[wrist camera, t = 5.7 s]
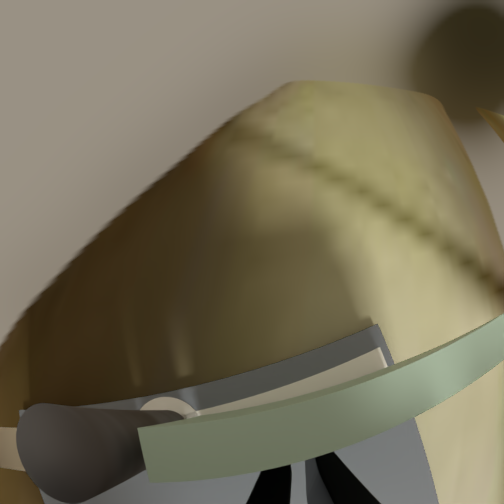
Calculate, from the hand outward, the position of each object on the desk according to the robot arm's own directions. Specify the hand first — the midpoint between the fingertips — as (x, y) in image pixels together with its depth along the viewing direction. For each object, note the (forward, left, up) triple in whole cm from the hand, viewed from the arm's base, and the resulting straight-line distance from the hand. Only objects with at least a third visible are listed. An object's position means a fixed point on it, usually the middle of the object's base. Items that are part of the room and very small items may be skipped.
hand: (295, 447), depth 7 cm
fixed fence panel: (+8, +5, -6) cm, 11 cm away
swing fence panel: (-1, -2, -5) cm, 6 cm away
